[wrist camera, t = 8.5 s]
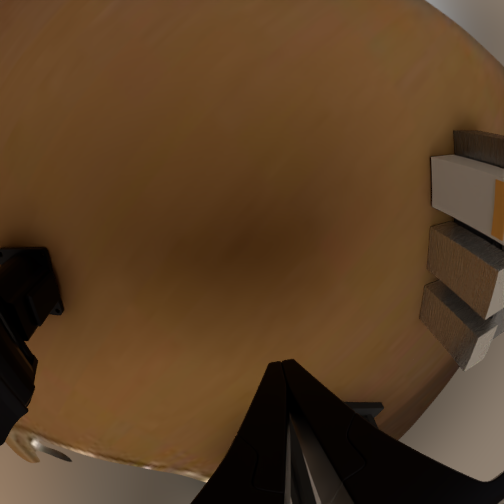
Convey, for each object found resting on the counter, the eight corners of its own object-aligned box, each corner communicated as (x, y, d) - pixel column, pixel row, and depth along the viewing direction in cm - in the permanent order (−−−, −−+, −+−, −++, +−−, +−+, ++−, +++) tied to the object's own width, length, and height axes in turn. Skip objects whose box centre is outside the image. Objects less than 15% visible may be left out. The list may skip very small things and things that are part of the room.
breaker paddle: (431, 206, 21) (505, 246, 13) (430, 156, 19) (512, 181, 11) (453, 201, 21) (524, 237, 13) (453, 154, 19) (530, 178, 11)
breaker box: (419, 319, 27) (464, 371, 19) (427, 131, 18) (511, 146, 10) (463, 298, 27) (508, 340, 19) (476, 130, 19) (548, 147, 10)
